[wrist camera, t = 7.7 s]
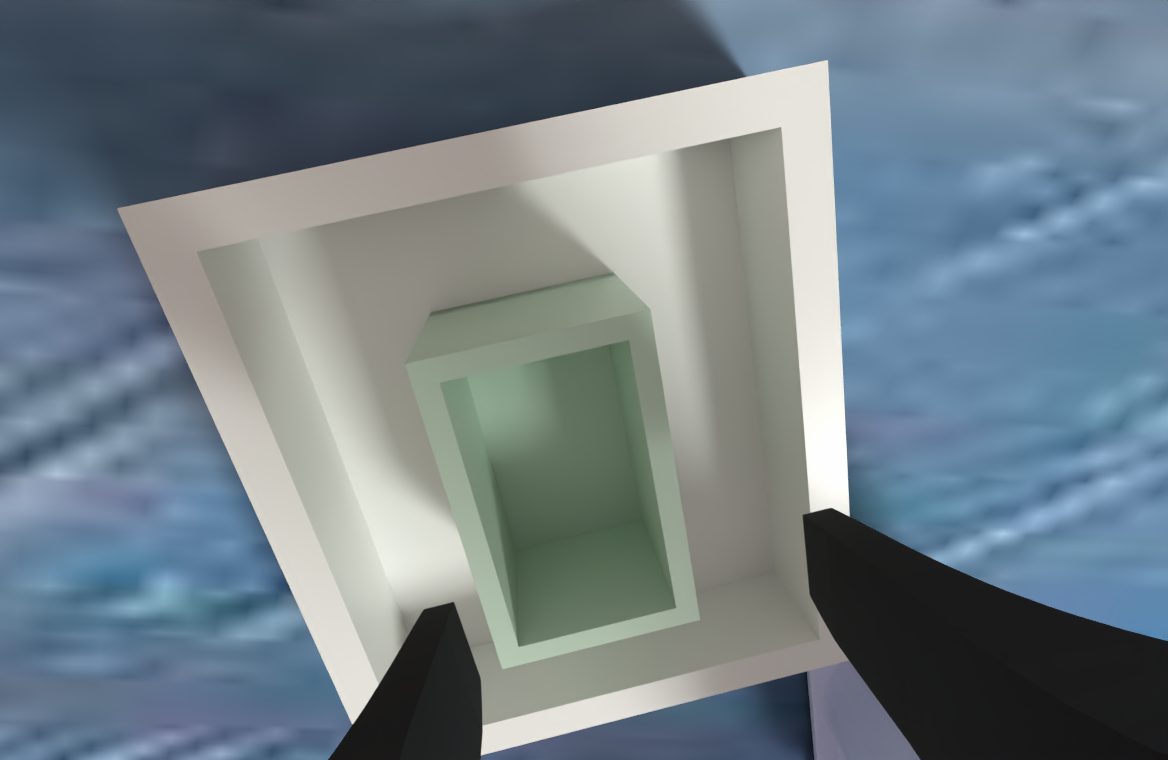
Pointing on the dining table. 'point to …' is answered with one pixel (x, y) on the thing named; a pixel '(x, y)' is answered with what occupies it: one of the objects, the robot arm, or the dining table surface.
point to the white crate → (504, 267)
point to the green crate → (558, 465)
